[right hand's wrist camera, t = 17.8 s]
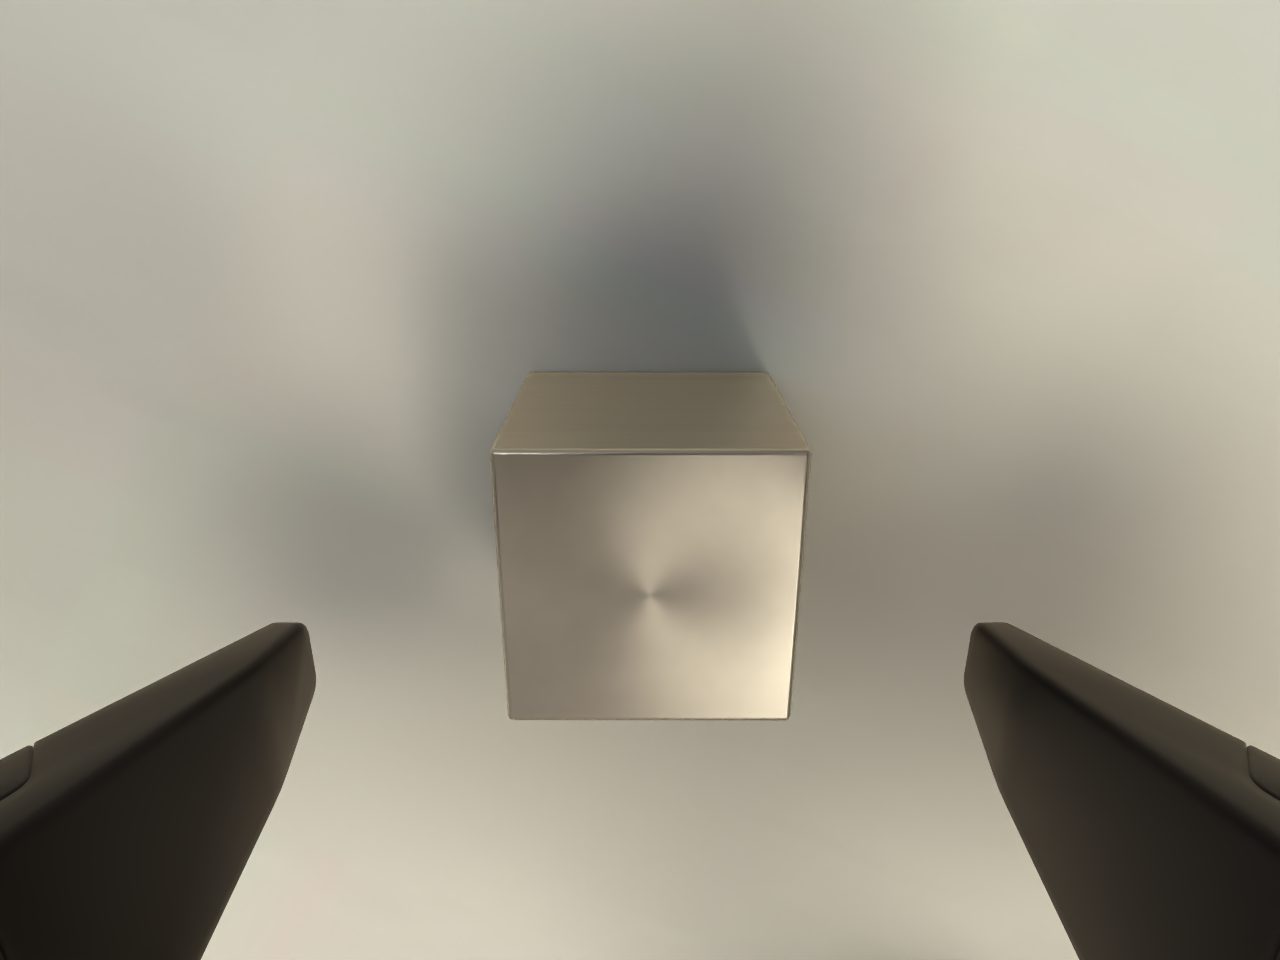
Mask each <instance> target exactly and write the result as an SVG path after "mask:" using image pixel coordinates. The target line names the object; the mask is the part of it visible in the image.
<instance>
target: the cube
mask: <svg viewBox="0 0 1280 960" xmlns="http://www.w3.org/2000/svg"><path fill="white" fill-rule="evenodd" d="M811 454H812V453H811V451H810V448H809V447H808V445H807V443H806V441H805V439H804V437H803V436H802V434H801V432H800V430H799V428H798V427H797V425H796V423H795V421H794V419H793V418H792V416H791V414H790V412H789V410H788V408H787V407H786V405H785V403H784V401H783V399H782V398H781V396H780V394H779V392H778V390H777V389H776V387H775V385H774V383H773V381H772V379H771V378H770V376H769V374H768V373H766V372H531V373H528V375H527V377H526V379H525V381H524V384H523V386H522V388H521V390H520V392H519V394H518V396H517V398H516V400H515V402H514V404H513V406H512V408H511V410H510V412H509V414H508V416H507V418H506V420H505V422H504V424H503V426H502V428H501V431H500V433H499V435H498V437H497V439H496V441H495V443H494V445H493V447H492V449H491V452H490V462H491V477H492V491H493V505H494V520H495V534H496V548H497V563H498V577H499V591H500V605H501V620H502V634H503V648H504V663H505V677H506V691H507V706H508V715H509V718H510V719H512V720H788V719H789V717H790V715H791V702H792V690H793V677H794V665H795V653H796V640H797V628H798V615H799V603H800V591H801V578H802V566H803V553H804V541H805V529H806V516H807V504H808V491H809V479H810V466H811Z"/></svg>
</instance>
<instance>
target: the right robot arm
mask: <svg viewBox="0 0 1280 960" xmlns="http://www.w3.org/2000/svg"><path fill="white" fill-rule="evenodd" d="M315 686H316V673H315V667H314V661H313V655H312V649H311V644H310V638H309V633H308V630H307V628H306V626H305V625H304V624H302V623H272V624H270V625H268V626H266V627H264V628H262V629H260V630H258V631H256V632H254V633H252V634H250V635H248V636H246V637H244V638H242V639H240V640H238V641H236V642H234V643H232V644H230V645H228V646H226V647H224V648H222V649H220V650H218V651H216V652H214V653H212V654H210V655H208V656H206V657H204V658H202V659H200V660H198V661H196V662H194V663H192V664H190V665H188V666H186V667H184V668H182V669H180V670H178V671H176V672H174V673H172V674H170V675H168V676H166V677H164V678H162V679H160V680H158V681H156V682H154V683H152V684H150V685H148V686H146V687H144V688H142V689H140V690H138V691H136V692H134V693H132V694H130V695H128V696H126V697H124V698H122V699H120V700H118V701H116V702H114V703H112V704H110V705H108V706H106V707H104V708H102V709H100V710H98V711H96V712H94V713H92V714H90V715H88V716H86V717H84V718H82V719H80V720H79V721H77V722H75V723H73V724H71V725H69V726H67V727H65V728H63V729H61V730H59V731H57V732H55V733H53V734H51V735H49V736H47V737H45V738H43V739H41V740H39V741H37V742H35V743H34V748H33V747H32V746H26V747H24V748H22V749H20V750H18V751H16V752H14V753H12V754H10V755H9V756H7V757H5V758H3V759H1V760H0V960H201V958H202V955H203V953H204V951H205V949H206V947H207V945H208V943H209V941H210V939H211V937H212V934H213V932H214V930H215V928H216V926H217V924H218V922H219V920H220V918H221V916H222V913H223V911H224V909H225V907H226V905H227V903H228V901H229V899H230V897H231V894H232V892H233V890H234V888H235V886H236V884H237V882H238V880H239V878H240V876H241V873H242V871H243V869H244V867H245V865H246V863H247V861H248V859H249V857H250V855H251V852H252V850H253V848H254V846H255V844H256V842H257V840H258V838H259V836H260V833H261V831H262V829H263V827H264V825H265V823H266V821H267V819H268V817H269V815H270V812H271V810H272V808H273V806H274V804H275V802H276V799H277V797H278V795H279V793H280V790H281V788H282V785H283V783H284V780H285V777H286V775H287V772H288V769H289V766H290V763H291V760H292V757H293V754H294V751H295V748H296V745H297V742H298V739H299V736H300V733H301V730H302V727H303V724H304V721H305V719H306V716H307V713H308V710H309V707H310V704H311V701H312V698H313V695H314V691H315ZM964 686H965V691H966V695H967V698H968V701H969V704H970V707H971V710H972V713H973V716H974V719H975V722H976V724H977V727H978V730H979V733H980V736H981V739H982V742H983V745H984V748H985V751H986V754H987V757H988V760H989V763H990V766H991V769H992V772H993V775H994V777H995V780H996V783H997V785H998V788H999V790H1000V793H1001V795H1002V797H1003V799H1004V802H1005V804H1006V806H1007V808H1008V810H1009V812H1010V815H1011V817H1012V819H1013V821H1014V823H1015V825H1016V827H1017V829H1018V831H1019V833H1020V836H1021V838H1022V840H1023V842H1024V844H1025V846H1026V848H1027V850H1028V852H1029V855H1030V857H1031V859H1032V861H1033V863H1034V865H1035V867H1036V869H1037V871H1038V873H1039V876H1040V878H1041V880H1042V882H1043V884H1044V886H1045V888H1046V890H1047V892H1048V895H1049V897H1050V899H1051V901H1052V903H1053V905H1054V907H1055V909H1056V911H1057V913H1058V916H1059V918H1060V920H1061V922H1062V924H1063V926H1064V928H1065V930H1066V932H1067V934H1068V937H1069V939H1070V941H1071V943H1072V945H1073V947H1074V949H1075V951H1076V953H1077V956H1078V958H1079V960H1280V760H1279V759H1277V758H1275V757H1273V756H1271V755H1269V754H1268V753H1266V752H1264V751H1262V750H1260V749H1258V748H1256V747H1254V746H1248V747H1247V748H1246V743H1245V742H1243V741H1241V740H1239V739H1237V738H1235V737H1233V736H1231V735H1229V734H1227V733H1225V732H1223V731H1221V730H1219V729H1217V728H1215V727H1213V726H1211V725H1209V724H1207V723H1205V722H1203V721H1201V720H1200V719H1198V718H1196V717H1194V716H1192V715H1190V714H1188V713H1186V712H1184V711H1182V710H1180V709H1178V708H1176V707H1174V706H1172V705H1170V704H1168V703H1166V702H1164V701H1162V700H1160V699H1158V698H1156V697H1154V696H1152V695H1150V694H1148V693H1146V692H1144V691H1142V690H1140V689H1138V688H1136V687H1134V686H1132V685H1130V684H1128V683H1126V682H1124V681H1122V680H1120V679H1118V678H1116V677H1114V676H1112V675H1110V674H1108V673H1106V672H1104V671H1102V670H1100V669H1098V668H1096V667H1094V666H1092V665H1090V664H1088V663H1086V662H1084V661H1082V660H1080V659H1078V658H1076V657H1074V656H1072V655H1070V654H1068V653H1066V652H1064V651H1062V650H1060V649H1058V648H1056V647H1054V646H1052V645H1050V644H1048V643H1046V642H1044V641H1042V640H1040V639H1038V638H1036V637H1034V636H1032V635H1030V634H1028V633H1026V632H1024V631H1022V630H1020V629H1018V628H1016V627H1014V626H1012V625H1010V624H1008V623H978V624H976V625H975V626H974V628H973V630H972V633H971V638H970V643H969V649H968V655H967V661H966V667H965V673H964Z"/></svg>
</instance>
